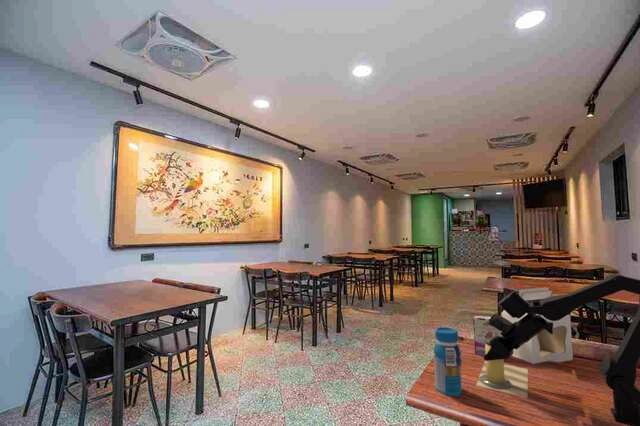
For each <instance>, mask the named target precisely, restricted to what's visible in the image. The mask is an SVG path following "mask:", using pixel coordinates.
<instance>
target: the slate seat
mask: <svg viewBox="0 0 640 426" xmlns="http://www.w3.org/2000/svg"><path fill="white" fill-rule="evenodd" d="M479 376H480V375H479ZM480 381H481V382H482V383H483V384H484V385H486V386H489V387H492V388H496V389H508V388H510V387H511V382H510V381H509V380H507V379H506V378H505V383H504V384H494V383H491V382H489V381H488V380H487V375H482V376H480Z"/></svg>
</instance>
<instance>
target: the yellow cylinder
mask: <svg viewBox="0 0 640 426" xmlns="http://www.w3.org/2000/svg"><path fill="white" fill-rule="evenodd" d="M492 339H493V338H486V339H485V349H486V354H487V352H488V351H489V350H490V348H491V345H490V342H489V341H491V340H492ZM504 363H505V361H504V360H503V359H500V360H490V361H486V372H487V380H488V381H489V382H491V383H494V384H504V383H505V378H504Z"/></svg>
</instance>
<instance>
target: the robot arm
mask: <svg viewBox="0 0 640 426" xmlns="http://www.w3.org/2000/svg"><path fill="white" fill-rule="evenodd" d="M621 291H626V292H629V293H633V294H635V295H639V296H638V297H639V298H638V309H637V312H636V313H635V316H634V318H632V319H633V320H632V321H631V324H630V326H629V327H628V329H627V331H626V333H625V335H624V336H623V339H622V341H621V343H620V344H619V346H618V348H617V350H616V352H615V353H614V354H612V355H611V356H609V355H608V354H603V356H602V360H601V362H600V363H598V364H597V366H598V368H599V371H598V372H599V374H600V376H601V378H602V379H603V380H604V382H605V384H606V385H607V387H608V388H609V389H610V390H612V402H613V407H612V408H610V409H609V411H610V413H611V415H612V417H613V419H614V421H616V422H621V423H623V424H628V425H632V426H640V388H639V387H638V386H637V385H636V380H637V367H638V366H637V365H638V363H639V360H640V279H637V278H633V277H628V276H624V275H622V274H619V273H614V274H611V275H609V276H608V277H606V278H603V279H601V280H599V281H597V282H593V283H591V284H589V285H586V286H583V287H581V288H578V289H577V290H574V291H572V292H570V293H565V294H559V295H553V296H552V297H548V298H544V299H540V301H539V300H538V301H527V300H526V301H525V300H524V299H523V298H522V297H521V296H520V295H519V294H518V292H517V291H516V290H513V291H512V292H510V293H508V294H507V295H504V297H503V298H501V300H500V301H498V303H497V305H498V306H499V307H500V308H501V309H502V310H503V311H504V310H505V311H506V312H507V313H508V314H509V315H510V316H511V317H513V318H515V317H516V318H518V319H519V318H521V317H522V316H524V315H525V314H526V313H527V315H525V316H524V317H523V318H522V319H520V320H519V321H518V322H514V323H511V322H510V321H508V320H507V319H505V318H503V317H502V315H500V314H498V313H494V314H492V315H491V316H490V317H491V318H490V319H489V322H488V324H489V325H490V326H493V327H495V328H496V329H498V330H500V331H502V332H501V333H500V334H501V335H502V337H500V336H496V337H495V338H493V339H492V340H491V341H489V342H490V345H491V348H490V350H489V351H488V352H487V354H486V355H485V356H483V360H484V362H485V361H490V360H500V359H503V360H508V359H509V358H510V357H511V356H512V354H513V349H516V350H517V349H518V348H519V347H520V346H522V345H523V344H524V343H526V342H528V341H529V340H530V339H531V338H533V337H534V336H536V335H537V334H538V333H540V332H541V331H543V330H544V329H545V330H547V331H548V332H549V333H550V334H553V322H548V321H546V320H545V319H544V318H546V319H548V320H551V321H558V320H560V319H562V318H564V317H565V316H567V315H568V314H569V315H570V314H571V313H573V311H575V310H576V309H578V308H580V307H582V306H584V305H587V304H590V303H592V302H595V301H598V300H601V299H603V298H605V297H609V296H611V295H613V294H615V293H619V292H621ZM536 314H538V315H536ZM540 315H542V316H544V318H543V317H542V316H540Z"/></svg>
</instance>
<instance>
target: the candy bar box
mask: <svg viewBox="0 0 640 426" xmlns="http://www.w3.org/2000/svg"><path fill="white" fill-rule="evenodd" d="M472 317H473V318H472V319H473V320H472V323H473V337H474V338H473V339H474V340H473V341H474V354H475V355H476V356H477V355H478V356H482V357H484V356H485V355H486V349H485V339H486V338H495V337H496V336H500V337H502V335H501V334H500V333H501V332H502V331H500V330H498V329H496V328H495V327H493V326H490V325H489V324H488V322H489V319H490V318H491V316H487V315H475V314H473V316H472Z"/></svg>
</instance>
